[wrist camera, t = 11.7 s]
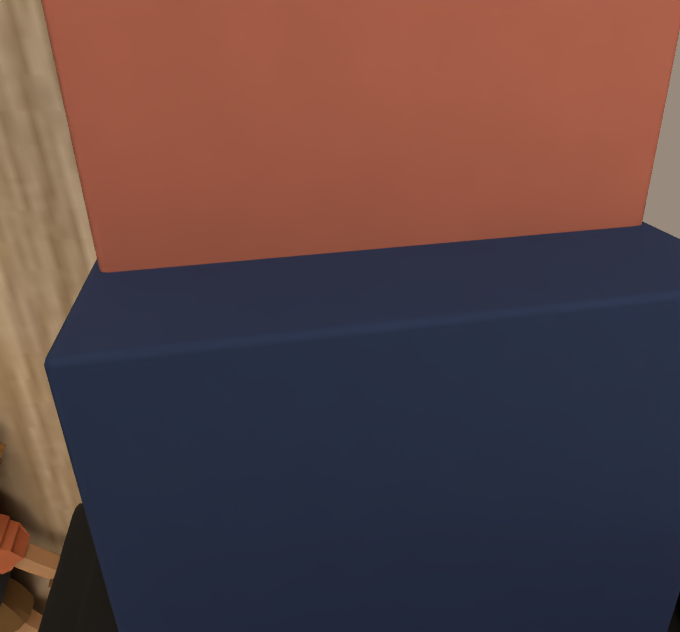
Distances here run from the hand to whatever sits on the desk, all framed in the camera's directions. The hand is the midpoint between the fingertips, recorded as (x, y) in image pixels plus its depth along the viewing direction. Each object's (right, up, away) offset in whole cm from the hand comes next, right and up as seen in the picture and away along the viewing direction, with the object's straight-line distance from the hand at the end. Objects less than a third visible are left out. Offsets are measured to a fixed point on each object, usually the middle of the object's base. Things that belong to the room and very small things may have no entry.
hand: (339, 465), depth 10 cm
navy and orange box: (0, +1, 0) cm, 1 cm away
